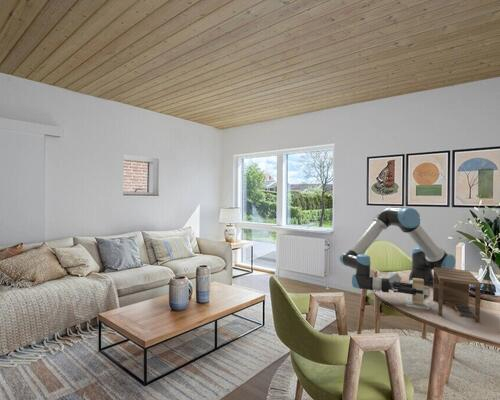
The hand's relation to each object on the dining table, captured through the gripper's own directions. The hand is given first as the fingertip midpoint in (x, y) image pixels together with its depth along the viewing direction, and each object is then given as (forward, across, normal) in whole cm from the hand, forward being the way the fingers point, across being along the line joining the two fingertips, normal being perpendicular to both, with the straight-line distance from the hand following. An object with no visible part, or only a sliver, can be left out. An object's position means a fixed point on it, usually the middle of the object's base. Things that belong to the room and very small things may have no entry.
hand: (429, 291), depth 156 cm
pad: (-6, -1, -8) cm, 10 cm away
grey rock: (-17, -35, -8) cm, 40 cm away
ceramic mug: (-4, -21, -8) cm, 23 cm away
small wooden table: (+11, 0, -8) cm, 14 cm away
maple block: (-5, 0, -6) cm, 8 cm away
